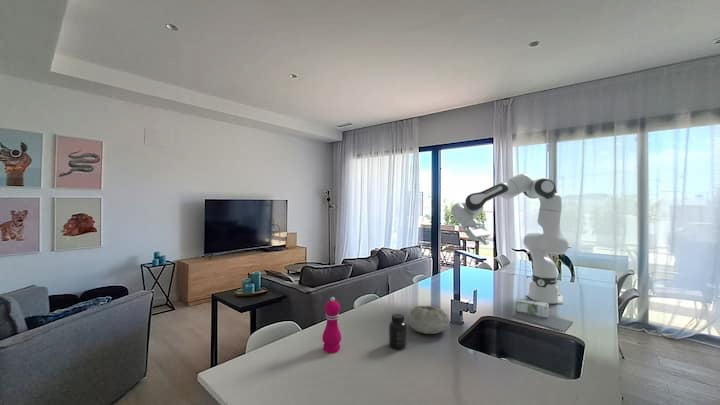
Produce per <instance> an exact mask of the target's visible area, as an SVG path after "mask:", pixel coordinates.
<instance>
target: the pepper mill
mask: <svg viewBox="0 0 720 405" xmlns="http://www.w3.org/2000/svg"><path fill="white" fill-rule="evenodd" d="M329 298H330V299H329V301H327V302H326V303H325V305H324V312H325V319H326V326H325V328H324V330H323V333H322V338H321V339H322V340H321V341H322V342H323V351H324V352H325V353H327V354H335V353H338V352H339V351H340V348H341V341H342V333H341V331H340V328H339V325H338V320H339V318H340V316H339V315H340V314H339V313H340V311H341V305H340V303H339V301H336V298H335V297H334V296H331V297H329Z"/></svg>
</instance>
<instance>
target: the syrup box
mask: <svg viewBox="0 0 720 405" xmlns="http://www.w3.org/2000/svg"><path fill="white" fill-rule="evenodd" d="M549 304H550V303H543V302H539V301H535V300H532V299H530V300H529V299H524V298H519V297H518V298H516V300H515V312H516V313H518V312H520V313H525V314H531V315H536V316H541V317H547V318H548V317H549V315H550V314H549V312H550V307H549V306H550V305H549Z"/></svg>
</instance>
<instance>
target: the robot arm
mask: <svg viewBox="0 0 720 405" xmlns="http://www.w3.org/2000/svg"><path fill="white" fill-rule="evenodd" d="M556 188H557V187H556V183H555V182H554V181H553V180H552V179H550V178H545V177H542V178H538V179H534V180H533V179H532V178H531V177H530V176H529V174H526V173H520V174H517V175H514V176H511V177H509V178H508V179H506V180H504V181H502V182H499V184H494V185H493V186H491V187H489V188H486V189H485V190H482V191H479V192H474V193H471V194H468V195H467V197H466V198H465V201H464V202H462V203H461V202H457V203H455V204H454V205H453V206H452V207H451V209H450V213H451V215H452V216H453V219H454V220H455V221H456V222H457V223H459V224H460V226H461V227H462V229H463V230H464V234H466V236H467V237H468V238H469V240H470V241H473V242H474V241H475V242H476V241H479V242H480V243H482V244H483V245H484V246H488V245H489V244H490V243H489V241H488V238H489V237H490V236H491V234H490V232H489V231H488V229H487V228H486V227H485V226H484V225H483V222H481V221H479V220H477V219H476V217H479V216H481V215H482V213H483V209H484V205H485V204H486V202H488V201H489V202H490V200H492V199H495V198H497V197H501V198H502V199H504V200H509V199H512V198H515V197H516V196H518V195H520V194H522V193H523V194H524V195H525V196H526V197H528V198H529V199H538V200H539V209H538V215H537V216H538V217H537V224H538V225H539V226H540V227H541V228H542V232H543V233H541V232H540V233H539V232H538V233H537V232H532V233H527V234H526V235H524V238H523V245H524V246H525V248H527V250H528V251H529V253H530V255H531V258H532V264H533V266H532V267H533V268H532V269H533V271H532V272H533V273H532V276H531V277H532V278H531V280H532V281H531V282H529V284H528V293H526V294H525V296H526V297H528V298H529V299H530V300H532V301H537V302H543V303H548V304H557V305H558V304H559V305H562V304H563V302H564V300H563V299H564V296H563V295H561V294H560V293H559V291H560V290H559V289H560V288H559V286H558V285H557V275H556V263H555V262H554V261H553V260H552V259H551V258H550V256H549V254H550V255H555V256H556V255H557V256H558V255H564V254H566V253H567V252H568V251H569V242H568V240H567V239H566V238H565V237H564V235H563V234H562V231H561V224H560V223H561V215H562V208H563V207H562V206H563V204H562V196H561V195H560V194H558V193H557V190H556Z"/></svg>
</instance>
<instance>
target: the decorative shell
mask: <svg viewBox="0 0 720 405" xmlns="http://www.w3.org/2000/svg"><path fill="white" fill-rule="evenodd" d="M408 314H409V315H408V323H409V326H410V327H411V328H412V329H413V330H414V331H416V332H417V333H422V334H426V335H433V334H434V335H435V334H440V333H442V332H443V331H445V330H447V329H449V326H450V323H451V322H450V321H451V320H450V318H449V316H448V313H446V312H445V311H444V310H443V309H440V308H439V307H435V306H433V305H418V306H414V307H413V308H412V309H410V312H409V313H408Z"/></svg>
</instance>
